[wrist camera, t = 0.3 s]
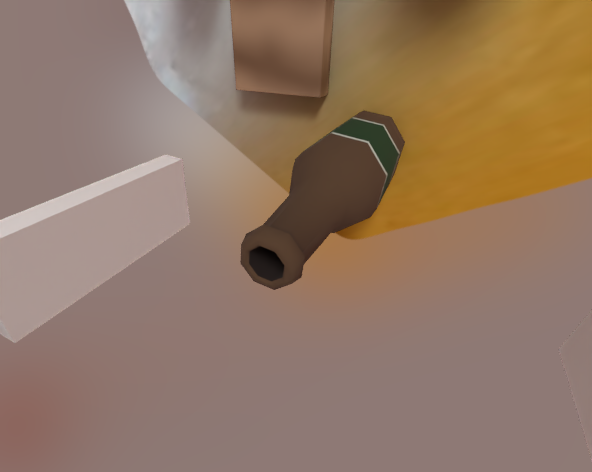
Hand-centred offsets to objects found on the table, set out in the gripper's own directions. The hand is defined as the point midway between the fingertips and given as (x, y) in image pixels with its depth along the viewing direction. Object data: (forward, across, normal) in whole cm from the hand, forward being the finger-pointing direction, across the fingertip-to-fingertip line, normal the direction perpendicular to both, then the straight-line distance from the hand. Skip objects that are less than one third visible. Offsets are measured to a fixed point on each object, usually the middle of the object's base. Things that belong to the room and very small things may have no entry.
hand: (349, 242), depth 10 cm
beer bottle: (+27, -5, -5) cm, 28 cm away
